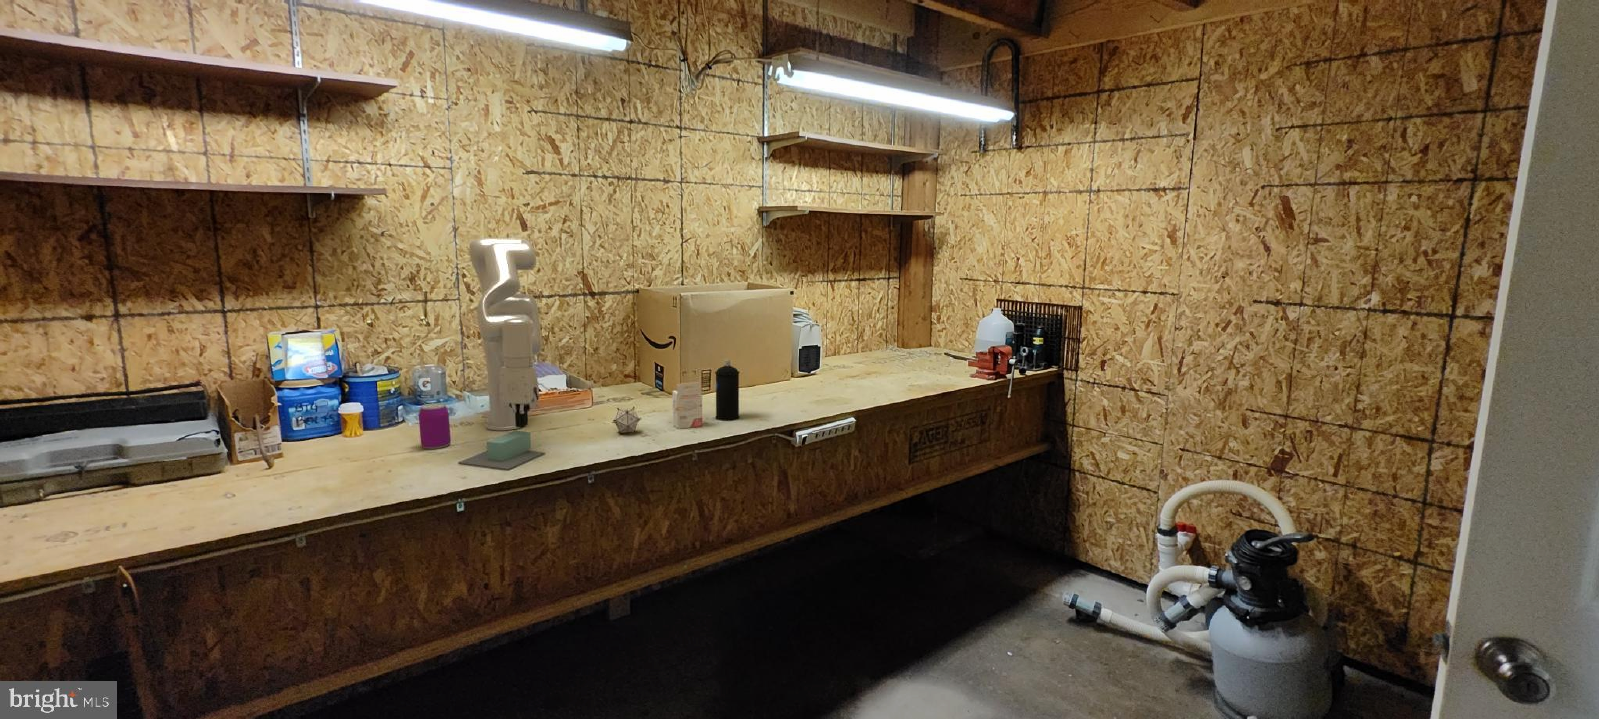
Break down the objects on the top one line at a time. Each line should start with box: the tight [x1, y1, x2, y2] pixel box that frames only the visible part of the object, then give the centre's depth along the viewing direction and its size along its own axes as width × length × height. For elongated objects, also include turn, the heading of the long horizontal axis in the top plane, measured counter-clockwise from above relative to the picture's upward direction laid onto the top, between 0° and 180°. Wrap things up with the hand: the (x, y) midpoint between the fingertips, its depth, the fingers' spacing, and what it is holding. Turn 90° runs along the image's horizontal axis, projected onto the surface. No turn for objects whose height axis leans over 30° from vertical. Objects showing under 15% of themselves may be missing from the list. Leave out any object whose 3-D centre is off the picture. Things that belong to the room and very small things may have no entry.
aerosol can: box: [714, 359, 740, 422], centre depth 240 cm, size 8×8×20 cm
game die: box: [612, 406, 642, 435], centre depth 221 cm, size 9×8×10 cm
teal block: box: [485, 429, 533, 461], centre depth 197 cm, size 5×5×12 cm
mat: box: [457, 450, 546, 471], centre depth 195 cm, size 16×15×1 cm
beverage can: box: [418, 402, 451, 450], centre depth 205 cm, size 8×8×12 cm
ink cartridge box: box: [672, 381, 704, 430], centre depth 230 cm, size 9×5×15 cm, turn 118°
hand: (521, 426), depth 202 cm, fingers closed
